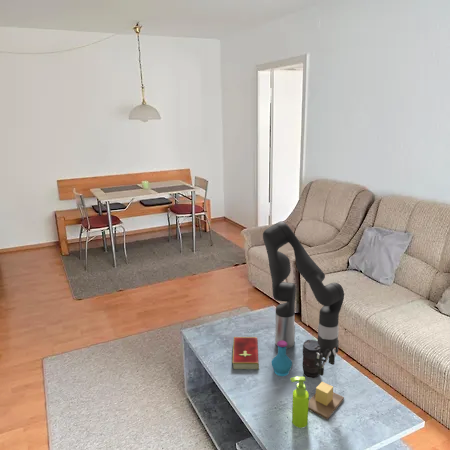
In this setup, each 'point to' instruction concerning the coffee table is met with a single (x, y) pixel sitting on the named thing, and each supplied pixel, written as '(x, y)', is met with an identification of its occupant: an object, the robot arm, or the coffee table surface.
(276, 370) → the perfume bottle
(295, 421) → the soap dispenser
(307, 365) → the camera lens
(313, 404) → the post board
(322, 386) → the tan wooden block
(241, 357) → the hardcover book
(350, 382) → the coffee table surface
